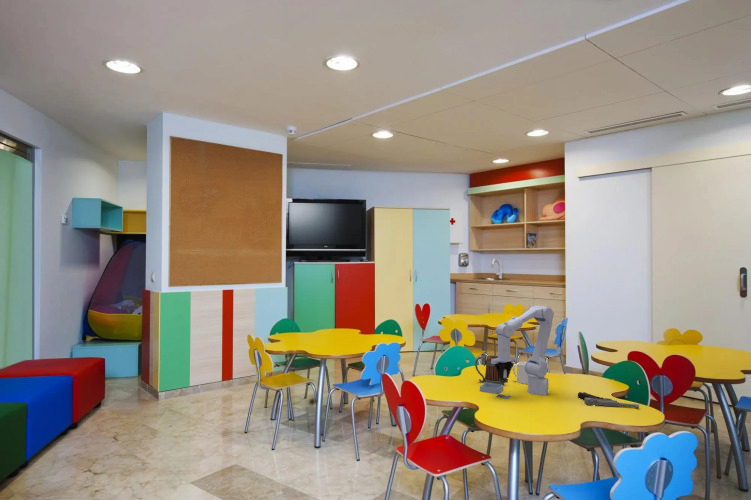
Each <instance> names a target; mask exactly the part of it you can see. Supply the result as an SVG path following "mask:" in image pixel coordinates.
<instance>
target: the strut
mask: <svg viewBox="0 0 751 500" xmlns="http://www.w3.org/2000/svg"><path fill="white" fill-rule="evenodd" d="M500 382H503V383H508V382H509V378H507V369H504V375H503V379H501V378H500Z"/></svg>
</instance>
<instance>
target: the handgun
mask: <svg viewBox="0 0 751 500" xmlns="http://www.w3.org/2000/svg"><path fill="white" fill-rule="evenodd" d="M577 398H578V399H579V398H580V400H582V399H583V400H582V401H584V405H585V404H586V405H585V406H592V405H595V406H594V407H598V406H602V405H603V406H606V407H612V406H615V407H614V408H619V407H622V406H623V408H624V407H625V408H626V407H627V408H636V409H637V408H640V405H639V403H637V404H635V403H626V402H619V401H617V400H614V399H612V398H607V397H605V398H604V397H600V396H597V395H594V394H591V393H588V392H583V391H579V392H578V393H577ZM591 404H592V405H591ZM603 406H602V407H603Z"/></svg>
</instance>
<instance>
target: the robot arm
mask: <svg viewBox="0 0 751 500" xmlns="http://www.w3.org/2000/svg"><path fill="white" fill-rule="evenodd" d="M554 314H555V312H554V310H553V308H551V307H550V306H543V305H537V304H536V305H532V306H530V307H529V309H527V311H525V312H524V313H522V314H521V315H520V316H519V317H518V316H512V317H511V319H509V320H507V321H504V323H499V324H498V325H497V326H496V328H495V330H494V332H495V334H496V337H497V356H498V358H495V359H491V364H494V365H495V367H496V369H497V372H498V375H499V378H501V379H503V375H504V369H507V379H509V377H510V374H511V370H513V365H514V364H515V363H516V362H517V363H518V361H517V357H514V356H513V357H511V337H512V336H513V335H514V333H515V332H516V331H517V330H519V329H521V328H522V327H523V325H524V323H526V322H528V321H529V320H531V319H534V320H535V321H536V322H538V325H539V329H538V332H537V336H536V341H535V345H534V349H533V353H532V355H531V356H530V357H528V358H527V361H526V362H527V363H526V364H525V371H526V373H527V375H528V385H527V393H529V394H531V395H537V396H538V395H539V396H544V397H545V396H547V395H548V394H549V378H548V377H546V375H547V372H548V363H547V361H546V360H545V357H546V356H545V355H546V351H547V347H548V345H549V341H550V340H549V339H550V336H551V331H552V327H553V319H554ZM514 362H515V363H514ZM502 363H503V364H502Z"/></svg>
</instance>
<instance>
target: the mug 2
mask: <svg viewBox="0 0 751 500" xmlns="http://www.w3.org/2000/svg"><path fill="white" fill-rule="evenodd" d="M526 363H527V361H517V363H514V365H513V367H512V372H513V375H514V376H515V377H516V382H517V383H518V384H521V385H527V386H528V375H527V373H526V371H525V364H526ZM515 367H516V368H515ZM516 369H517V370H516ZM516 371H517V372H516ZM516 373H517V374H516Z"/></svg>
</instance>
